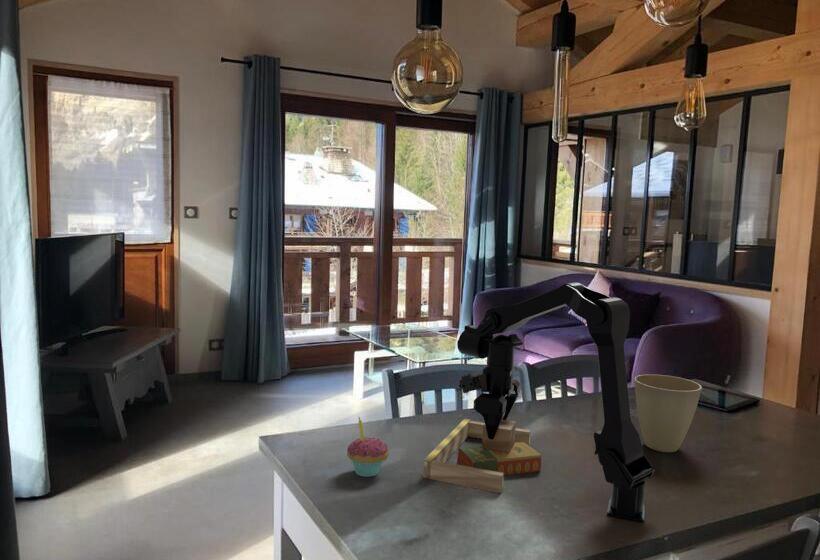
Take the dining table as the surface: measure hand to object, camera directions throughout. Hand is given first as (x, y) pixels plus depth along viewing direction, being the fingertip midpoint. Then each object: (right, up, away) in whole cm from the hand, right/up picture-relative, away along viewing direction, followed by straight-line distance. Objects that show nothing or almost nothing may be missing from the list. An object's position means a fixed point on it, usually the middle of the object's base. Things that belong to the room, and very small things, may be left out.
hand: (496, 432), depth 145 cm
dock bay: (-3, -6, 0) cm, 7 cm away
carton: (0, -7, -3) cm, 8 cm away
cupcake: (-28, -7, -8) cm, 30 cm away
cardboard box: (0, -3, -1) cm, 3 cm away
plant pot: (+41, -7, +13) cm, 44 cm away
